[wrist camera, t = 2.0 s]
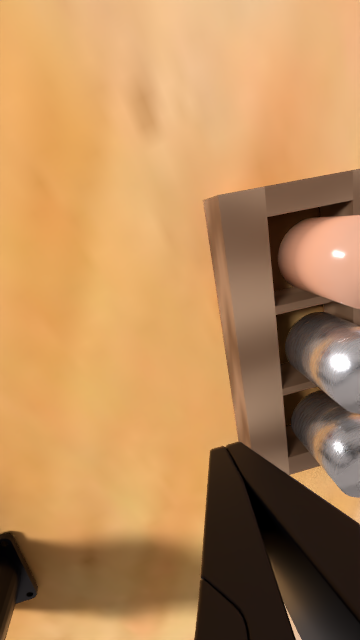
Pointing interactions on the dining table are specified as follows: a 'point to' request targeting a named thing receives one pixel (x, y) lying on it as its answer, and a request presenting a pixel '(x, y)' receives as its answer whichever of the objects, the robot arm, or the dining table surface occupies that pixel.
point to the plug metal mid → (328, 356)
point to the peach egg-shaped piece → (324, 258)
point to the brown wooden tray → (268, 305)
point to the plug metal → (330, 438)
